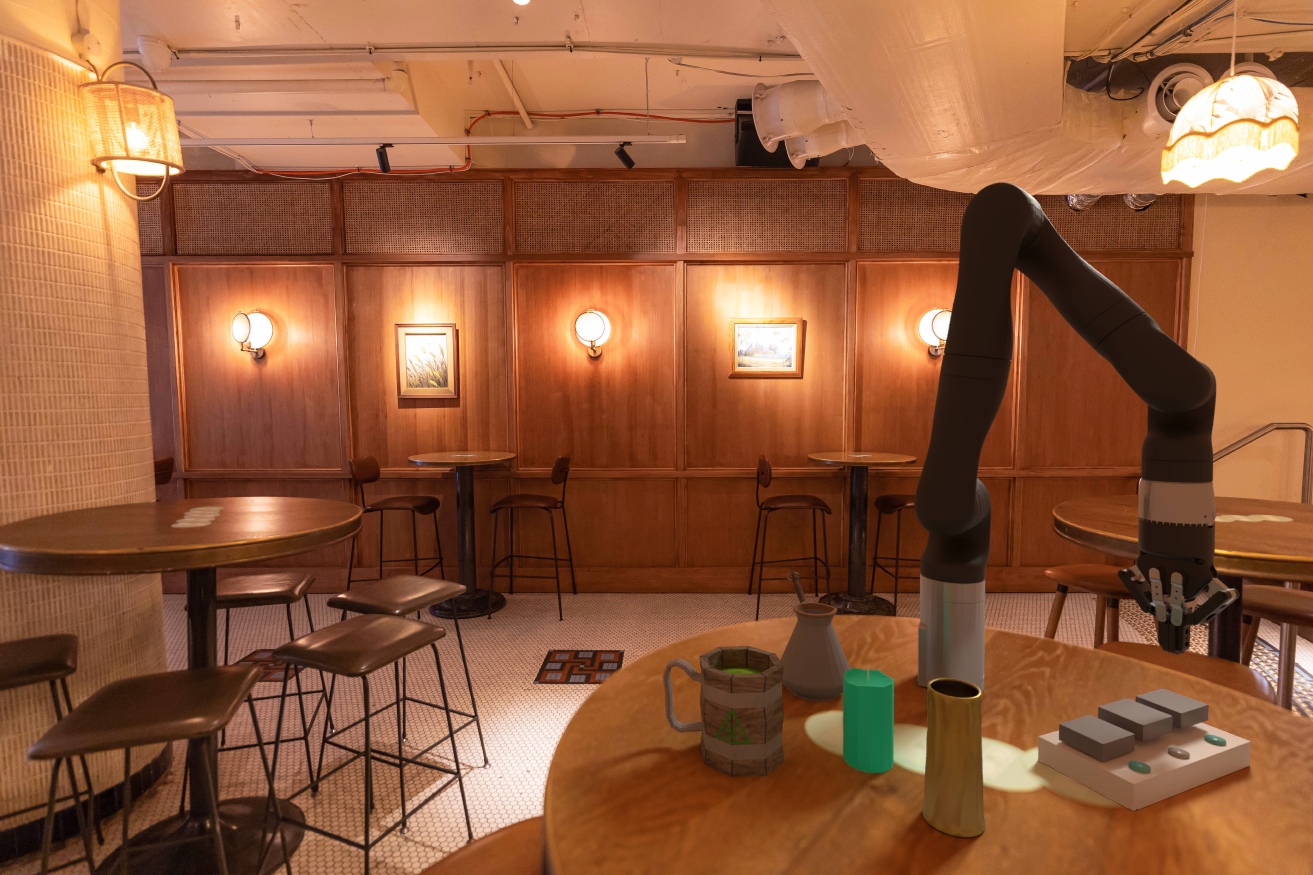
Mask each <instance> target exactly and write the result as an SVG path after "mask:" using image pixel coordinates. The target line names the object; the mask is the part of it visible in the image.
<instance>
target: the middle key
mask: <svg viewBox="0 0 1313 875" xmlns="http://www.w3.org/2000/svg"><path fill="white" fill-rule="evenodd" d="M1135 701H1136V700H1132V699H1130V698H1128V697H1127V698H1123V699H1120V700H1116V701H1113V702H1109V703H1105V704H1102V705H1098V707H1097V709H1098V710H1097V718H1099V719H1101V720H1103V721H1106V722H1108V723H1110V724H1113V725H1115V726H1117V727H1120V728H1122V729H1124V730H1126V731H1129V732H1131V733H1133V734H1135V739H1137V740H1140V741H1142V742H1144V741H1147V740H1150V739H1153V738H1156V737H1159V736H1162V735H1165V734H1168V733H1171V732H1172V722H1173V716H1171V715H1169V714H1166V713H1163V712H1161V711H1158V710H1156V709H1153V708H1151V707H1148V706H1145V705H1143V704H1140V703H1138V702H1135Z"/></svg>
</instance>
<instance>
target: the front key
mask: <svg viewBox="0 0 1313 875" xmlns="http://www.w3.org/2000/svg"><path fill="white" fill-rule="evenodd" d="M1058 730H1059V740H1060V741H1062V742H1064V743H1066V744H1068V745H1070V746H1073V747H1075V748H1077V749H1079V750H1081V751H1083V752H1085V753H1087V754H1089V755H1091V756H1093V757H1095V758H1097V759H1099V760H1101V761H1106V760H1109V759H1111V758H1114V757H1117V756H1120V755H1123V754H1126V753H1129V752H1132V751H1134V745H1135V734H1133V733H1131V732H1129V731H1126V730H1124V729H1122V728H1120V727H1117V726H1115V725H1113V724H1110V723H1108V722H1106V721H1103V720H1101V719H1099V718H1098V716H1094V715H1092V714H1088V715H1087V714H1086V715H1083V716H1081V717H1077V718H1074V719H1070V720H1067V721H1063V722H1060V723H1058Z"/></svg>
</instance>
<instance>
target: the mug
mask: <svg viewBox="0 0 1313 875" xmlns="http://www.w3.org/2000/svg"><path fill="white" fill-rule="evenodd" d="M698 658H699V665H700V672H698V671H697V670H696V669H694V667H693V666H692V665H691V664H690V662H688V661H686V660H684V659H682V658H681V657H680V658H676V659H673V660H670V661H668V662H667V663H666V666H665V668H664V672H663V674H662V679H663V680H662V681H663V688H664V689H663V690H664V706H665V717H666V719H667V722H668V724H669V726H670V728H671V729H673V730H675V731H676V732H678V733H680V734H681V733H691V732H692V733H693V732H701V737H700V745H699V747H700V752H701V756H702V761H703V765H705V766H707V767H709V768H711V769H713V770H716V771H717V772H720V773H721V774H725V775H726V776H729V777H731V778H743V777H762V776H763V777H765V776H768V775H769V774H771V772H773V771H774V770H775V769H777V768H778V767H779V766H780V765H781V764H782V763H784V762H785V757H784V748H783V726H784V717H785V716H784V714H785V713H784V704H783V683H782V676H783V668H784V666H783V664H782V663H781V661H780V660H781V659H780V658H779V657H778V655H777V654H776V653H775V652H773V651H768V650H765V649H760V648H757V647H754V646H751V645H740V646H739V645H738V646H737V645H735V646H732V645H731V646H717V647H714V648H713V649H711V650H709V651H706V652H705V653H702V654H701V655H699V656H698ZM675 667H678V668H679V669H681V670H683V671H684V673H685V674H686V675H687V676H688V677H689V678H690V680H692V681H694V682H698V683H700V694H699V696H700V697H699V707H700V715H701V716H700V717H701V721H694V722H693V721H692V722H686V723H682V722H680V721H678V720H677V718H676V715H675V713H674V703H673V702H674V701H673V700H674V699H673V696H674V694H673V686H672V680H671V679H672V678H671V672H672V668H675Z"/></svg>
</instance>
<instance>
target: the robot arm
mask: <svg viewBox="0 0 1313 875" xmlns="http://www.w3.org/2000/svg"><path fill="white" fill-rule="evenodd" d="M961 219H962V220H961V225H960V238H959V239H960V240H959V256H958V257H959V258H958V260H959V261H958V272H957V281H956V288H955V293H954V298H953V303H952V307H951V313H950V318H949V323H948V328H947V329H948V330H947V334H946V341H945V345H944V349H943V354H942V359H941V366H940V369H939V370H940V371H939V378H938V386H937V393H936V398H935V405H934V411H933V419H932V428H931V433H930V439H929V444H928V447H927V452H926V456H925V460H924V463H923V467H922V470H921V474H920V478H919V481H918V482H917V486H916V491H915V494H914V502H913V505H914V507H913V509H914V512H915V515H916V518H917V520H918V522H919V523H920V525H921V526H922V527H923V528H924V530H926V531H927V532H928V536H927V537H928V538H927V543H926V544H925V545H926V546H925V548H924V551H923V552H922V554H921V556H920V561H919V562H920V563H919V564H920V565H919V568H920V569H919V572H920V575H919V580H920V581H919V582H920V583H919V586H920V587H919V623H918V626H917V627H918V629H917V685H918V686H919V687H924V688H927V684H928V682H929V681H930V680H932V679H935V678H955V679H960V680H964V681H967V682H970V683H972V684H974V685H976V686H977V687H979V688H980V690H981V692H982V693H983V692H984V690H985V638H986V637H985V636H986V635H985V634H986V632H985V628H986V627H985V624H986V620H985V615H986V611H985V610H986V609H985V608H986V568H987V564H988V562H989V558H990V552H991V551H990V548H991V530H992V528H991V527H992V503H991V497H990V494H989V491H988V489H987V487H986V485H985V484H984V482H983V481H981V480H980V479H979V478H978V473H979V466H980V459H981V454H982V450H983V446H984V444H985V440H986V438H987V436H988V433H989V432H990V429H991V427H992V426H993V424H994V421H995V419H996V417H997V414H998V412H999V410H1000V407H1001V405H1002V402H1003V399H1004V397H1005V394H1006V390H1007V388H1008V387H1007V386H1008V381H1009V376H1010V370H1011V366H1012V365H1011V364H1012V360H1013V356H1014V341H1015V340H1014V339H1015V338H1014V336H1015V334H1014V321H1013V311H1012V309H1013V308H1012V283H1013V282H1012V281H1013V278H1014V277H1013V276H1014V272H1015V269H1016V270H1017V271H1019V272H1020V273H1022V274H1023V275H1024V276H1025V277H1026V278H1028V279H1029V280H1030V281H1031V282H1032V283H1033V284H1034V285H1035V286H1036V287H1037V288H1038V289H1039V290H1041V292H1042V293H1043V294H1044V295H1045V297H1046V298H1047V299H1048V300H1049V302H1050V303H1051V304H1052V305H1053V306H1054V308H1055V309H1056V311H1057V312H1058V313H1059V314H1060V315H1061V317H1062V318H1063V319H1064V320H1065V321H1066V322H1067V323H1068V324H1069V325H1070V327H1071V328H1072V329H1073V330H1074V331H1075V332H1076V333H1077V334H1078V335H1079V336H1080V337H1081V338H1082V339H1083V340H1084V341H1085V342H1086V343H1087V344H1088V345H1089V346H1090V347H1092V349H1094V351H1096V353H1097V354H1098V355H1100V356H1101V357H1102V358H1103V359H1105V360H1106V361H1107V362H1109V363H1110V365H1111V366H1112V367H1113V368H1114V370H1115V371H1116V372H1117V373H1118V374H1119V376H1120V377H1121V378H1122V380H1123V381H1124V382H1125V383H1126V384H1127V385H1128V387H1130V389H1131V390H1132V391H1133V392H1134V394H1136V395H1137V396H1138V397H1139V398H1140V399H1141V400H1142V401H1143V402H1144V404H1146V405H1147V424H1146V425H1147V433H1146V436H1145V438H1144V440H1143V443H1142V448H1141V458H1140V459H1141V470H1140V471H1141V473H1140V476H1141V477H1140V478H1141V481H1140V487H1139V492H1138V509H1137V510H1138V515H1137V517H1138V520H1137V521H1138V523H1137V524H1138V526H1137V528H1138V530H1137V531H1138V532H1137V533H1138V534H1137V540H1138V541H1137V546H1138V549H1139V554H1138V556H1137V557H1136V559H1135V565H1133V566H1132V565H1131V567H1128V568H1125V569H1119V570H1118V572H1117V576H1118V578H1119V579H1120V581H1121V582H1122V583H1123V586H1124V587H1125V588H1126V590H1127V591H1128V593H1129V594H1130V596H1131V597H1132V598H1133V600H1135V602H1136V604H1137V605H1138V607H1139V608H1140V609H1141V611H1142V612H1143V613H1145V614H1150V615H1152V616H1153V617H1155V618H1156V620H1157V623H1158V625H1157V626H1158V627H1157V628H1158V629H1157V632H1158V633H1157V634H1158V635H1157V637H1158V638H1157V641H1158V644H1159V646H1161V649H1162V651H1163V652H1167V653H1170V654H1174V655H1177V656H1178V655H1181V654H1184V653H1185V652H1186V651H1188V650H1189V649H1190V647H1191V626H1198V625H1201V624H1207V623H1209V622H1210V621H1211V620H1213V619H1215V617H1216V616H1217V615H1220V613H1222V611H1224V610H1226V608H1228V607H1229V606H1230V605H1231V604H1233V603H1234V602H1235V601H1236V600H1238V599H1239V597H1240V596H1241V594H1240V591H1239V590H1238V589H1235V588H1229V587H1228V586H1227V585H1226V584H1225V583H1223V582H1222V581H1221V579H1219V577H1218V576H1219V573H1218V570H1217V569H1216V567H1215V565H1214V558H1215V554H1216V548H1215V547H1216V545H1215V544H1216V518H1217V511H1216V496H1215V490H1214V450H1213V440H1212V436H1213V428H1214V422H1215V413H1216V412H1215V411H1216V404H1217V379H1216V375H1215V373H1214V372H1213V370H1212V369H1211V368H1210V367H1209V366H1208V365H1206V364H1205V363H1203V362H1202V361H1200V360H1198V359H1197V358H1196V357H1194V356H1193V355H1192V354H1190V353H1189V352H1188V351H1187V350H1186V349H1184V348H1183V347H1182V346H1181V345H1180V344H1179V343H1177V342H1176V341H1175V340H1173V339H1172V338H1171V337H1170V336H1169V335H1168V334H1166V333H1165V332H1164V331H1163V330H1162V329H1161V328H1160V326H1159V324H1158V323H1157V321H1156V320H1154V318H1153V317H1152V316H1151V315H1150V314H1149V313H1148V312H1147V311H1145V309H1143V308H1142V306H1140V304H1138V303H1137V302H1135V300H1133V299H1132V298H1131V297H1130V296H1129V295H1128V294H1127V293H1126V292H1124V290H1122V289H1121V288H1120V287H1119V286H1117V285H1116V284H1115V283H1114V282H1113V281H1112V280H1110V279H1109V278H1107V276H1105V275H1103V274H1102V273H1101V272H1100V271H1098V270H1097V269H1095V268H1094V266H1092V265H1091V264H1090V263H1088V262H1087V261H1086V260H1085V259H1083V258H1082V256H1080V255H1079V254H1078V253H1077V252H1076V251H1075V250H1074V249H1073V248H1072V247H1071V246H1070V245H1069V244H1068V243H1067V241H1066V240H1065V239H1064V238H1063V237H1062V236H1061V235H1060V233H1059V232H1058V231H1057V230H1056V227H1055V226H1054V225H1053V224H1052V222H1051V221H1050V219H1049V218H1048V217H1047V215H1046V214H1045V212H1044V211H1043V209H1042V207H1041V204H1040V203H1039V202H1038V201H1037V199H1036V198H1035V197H1034V196H1032V195H1031V194H1029V193H1028V192H1027V191H1026V190H1024V189H1023V188H1021V187H1020V186H1018V185H1016V184H1013V183H1009V182H1006V181H1005V182H1004V181H1003V182H994V183H991V184H988V185H987V186H984V187H982V189H980V190H979V191H978V192H977V193H976V194H974V195H973V197H972V198H971V199H970V200H969V202H968V203H967V206H966V208H965V210H964V212H963V215H962V218H961ZM1207 589H1208V591H1207V594H1206V596H1207V597H1208V599H1207V600H1206V601H1204V602H1203V603H1202V604H1201V605H1199V607H1197V605H1198V601H1199V597H1200V596H1201V595H1203V593H1204V592H1205V591H1206V590H1207ZM1196 607H1197V608H1196ZM1195 608H1196V609H1195Z"/></svg>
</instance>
